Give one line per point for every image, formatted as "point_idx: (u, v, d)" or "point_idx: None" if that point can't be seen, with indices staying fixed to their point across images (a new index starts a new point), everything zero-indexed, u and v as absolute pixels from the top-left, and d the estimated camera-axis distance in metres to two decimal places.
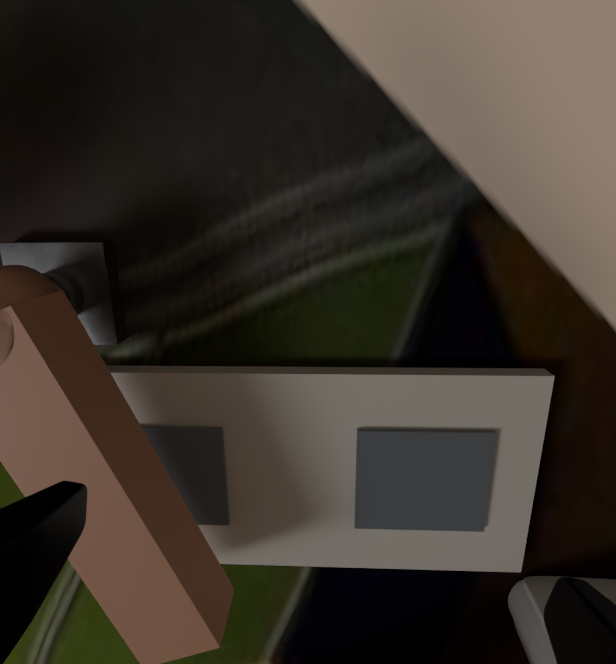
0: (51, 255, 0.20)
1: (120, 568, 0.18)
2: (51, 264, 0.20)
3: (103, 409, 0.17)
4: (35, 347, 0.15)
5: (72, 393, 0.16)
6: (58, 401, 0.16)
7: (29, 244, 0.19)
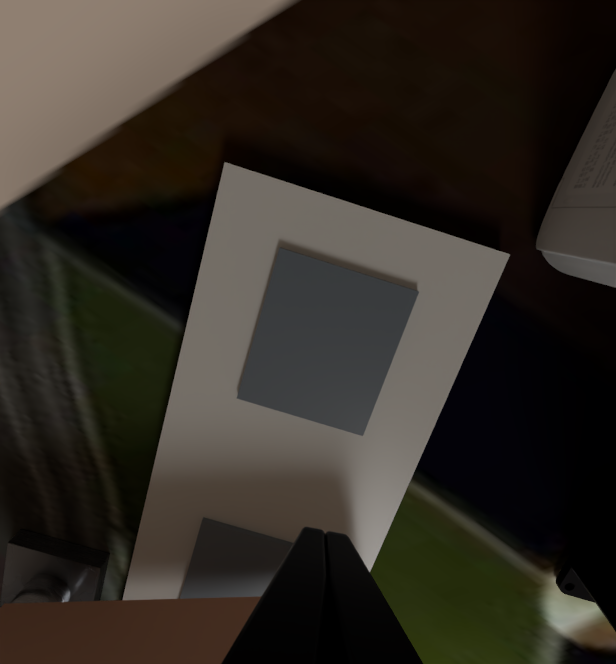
0: (13, 582, 0.23)
1: None
2: (21, 585, 0.23)
3: (87, 634, 0.18)
4: None
5: (43, 659, 0.17)
6: None
7: (2, 593, 0.23)
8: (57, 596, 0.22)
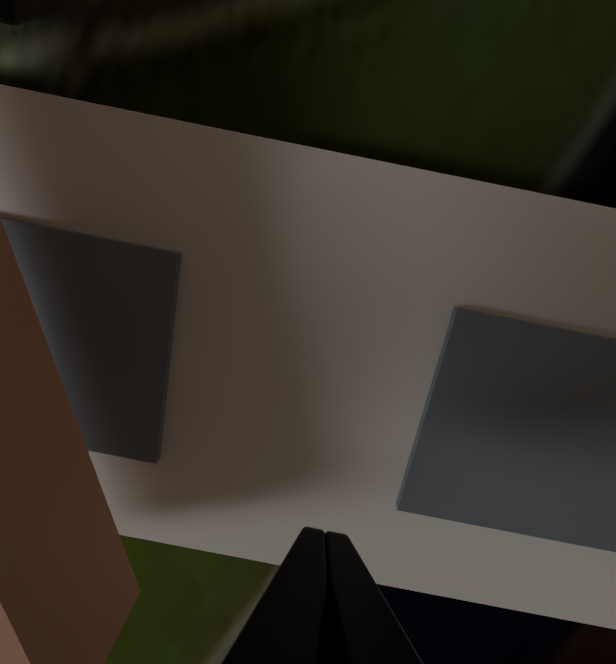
0: None
1: None
2: None
3: None
4: None
5: None
6: None
7: None
8: None
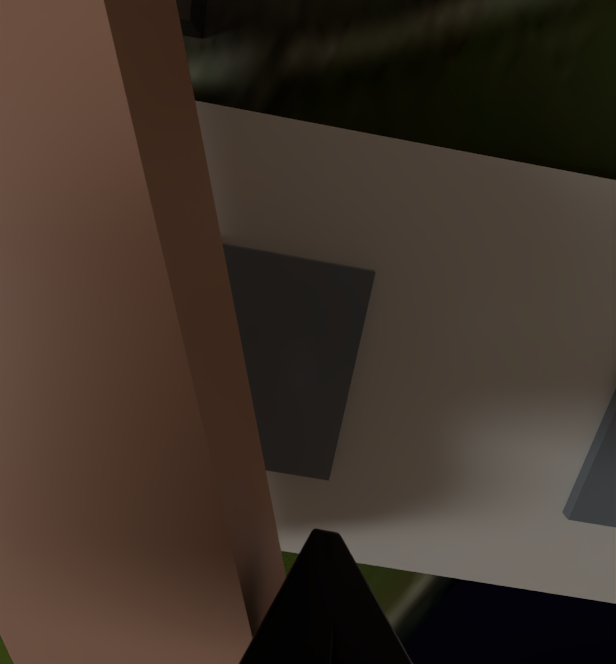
0: None
1: (87, 545, 0.06)
2: None
3: (156, 52, 0.05)
4: None
5: None
6: None
7: None
8: None
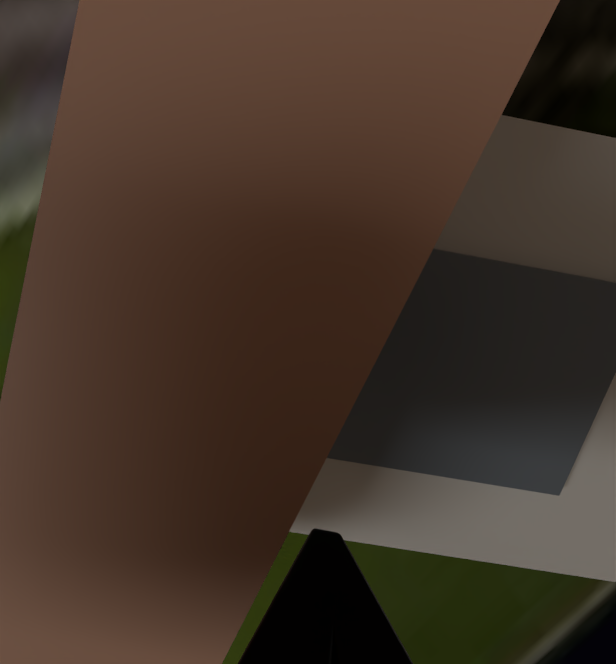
0: None
1: (120, 537, 0.06)
2: None
3: None
4: None
5: None
6: None
7: None
8: None
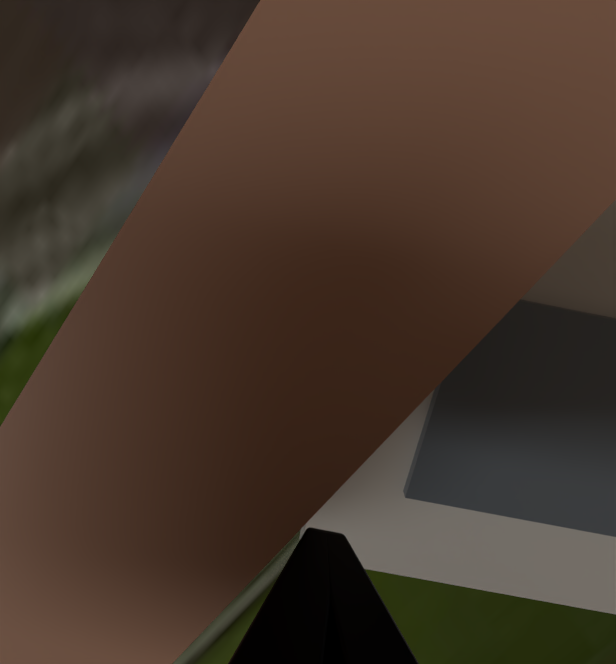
0: None
1: (122, 510, 0.06)
2: None
3: None
4: None
5: None
6: None
7: None
8: None
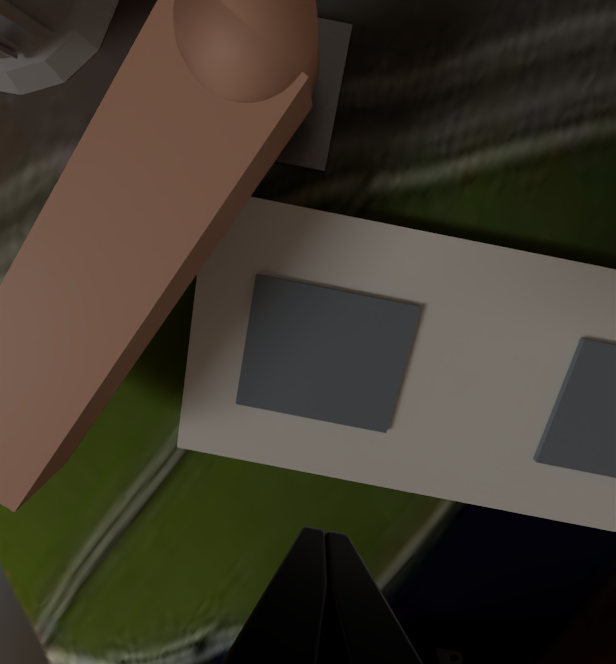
0: None
1: (32, 362, 0.13)
2: None
3: (212, 235, 0.13)
4: (270, 133, 0.11)
5: (228, 200, 0.12)
6: (213, 193, 0.11)
7: None
8: None
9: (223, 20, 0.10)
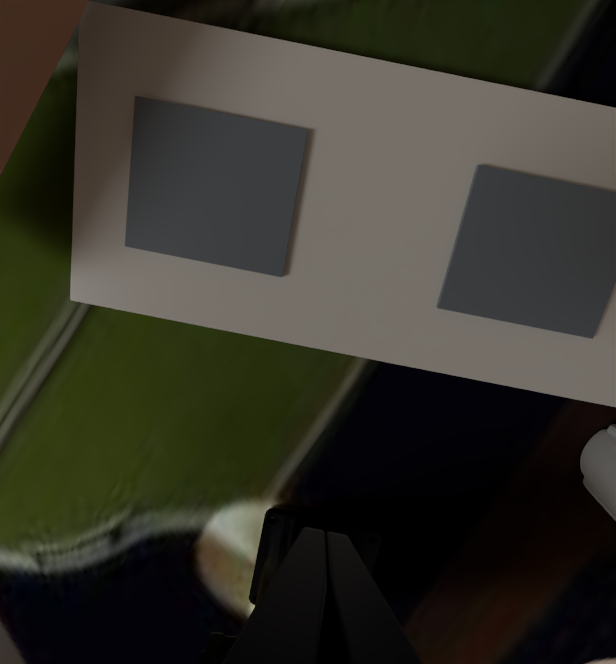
0: None
1: None
2: None
3: None
4: None
5: None
6: None
7: None
8: None
9: None
